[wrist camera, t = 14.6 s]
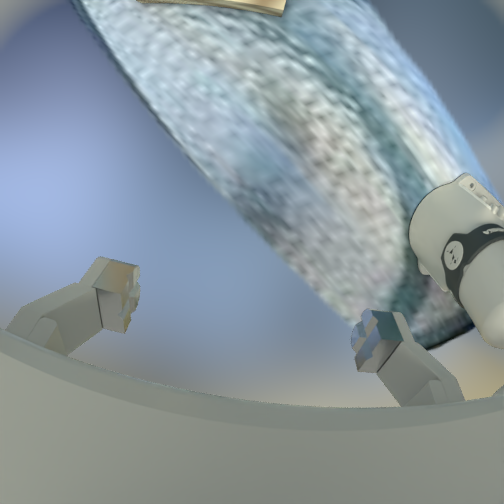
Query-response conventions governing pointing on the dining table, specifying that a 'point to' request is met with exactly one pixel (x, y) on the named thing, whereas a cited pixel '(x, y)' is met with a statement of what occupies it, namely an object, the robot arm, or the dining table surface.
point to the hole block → (235, 4)
